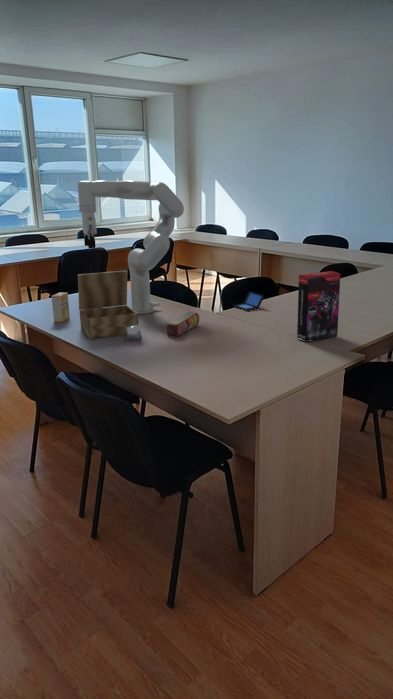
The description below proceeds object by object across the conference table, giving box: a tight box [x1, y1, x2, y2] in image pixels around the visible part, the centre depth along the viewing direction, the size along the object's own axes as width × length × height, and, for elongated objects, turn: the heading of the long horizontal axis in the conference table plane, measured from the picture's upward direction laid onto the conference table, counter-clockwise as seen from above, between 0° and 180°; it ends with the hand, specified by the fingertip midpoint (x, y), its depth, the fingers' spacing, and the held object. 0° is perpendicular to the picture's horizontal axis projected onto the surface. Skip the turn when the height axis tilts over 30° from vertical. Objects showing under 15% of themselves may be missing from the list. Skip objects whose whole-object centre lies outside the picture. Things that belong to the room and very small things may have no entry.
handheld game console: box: [233, 291, 265, 312], centre depth 270 cm, size 12×11×7 cm
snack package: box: [166, 310, 200, 338], centre depth 232 cm, size 21×7×7 cm, turn 154°
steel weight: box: [125, 323, 142, 343], centre depth 220 cm, size 6×6×6 cm
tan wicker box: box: [78, 304, 140, 340], centre depth 232 cm, size 22×17×9 cm
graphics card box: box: [296, 270, 341, 341], centre depth 215 cm, size 17×7×27 cm, turn 117°
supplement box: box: [51, 292, 71, 323], centre depth 250 cm, size 8×5×13 cm, turn 168°
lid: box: [77, 269, 129, 311], centre depth 234 cm, size 22×17×1 cm
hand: (90, 246), depth 245 cm, fingers open, 9 cm apart
